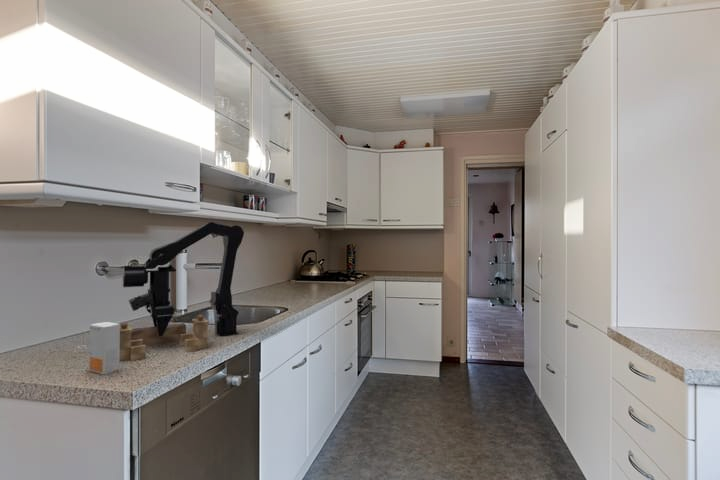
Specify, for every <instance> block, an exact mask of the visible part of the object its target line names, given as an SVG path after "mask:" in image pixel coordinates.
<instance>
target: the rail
mask: <svg viewBox="0 0 720 480" xmlns="http://www.w3.org/2000/svg"><path fill="white" fill-rule="evenodd" d="M180 334H187V324H186V323H185V322H182V323H175V324H168V326H167V328H166V330H165V332H164V334H163V336H159V334H158V329H157V326H155V327H154V326H148V327H145V326H144V327H138V328H132V333H131V340H139V339H142V340H143V345H145V346H155V345H161V344H171V343H175V342H177V343H178V342H180Z"/></svg>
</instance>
